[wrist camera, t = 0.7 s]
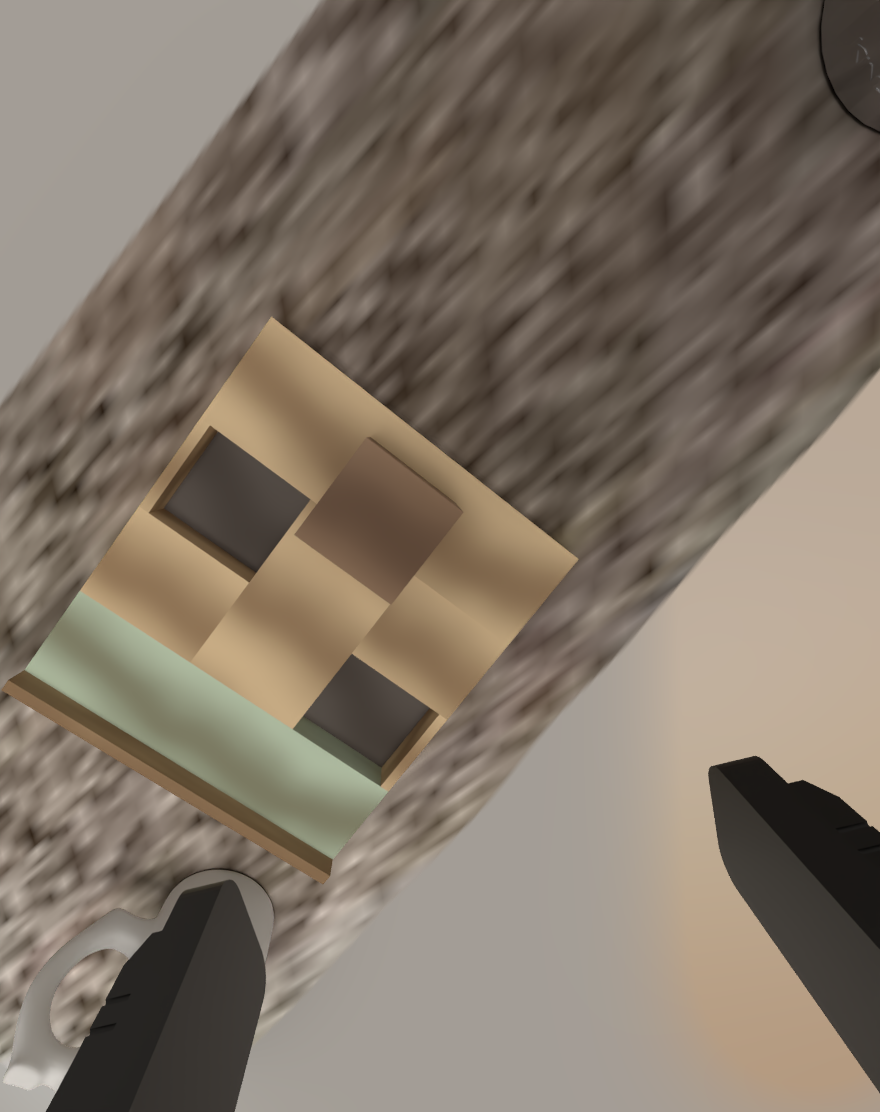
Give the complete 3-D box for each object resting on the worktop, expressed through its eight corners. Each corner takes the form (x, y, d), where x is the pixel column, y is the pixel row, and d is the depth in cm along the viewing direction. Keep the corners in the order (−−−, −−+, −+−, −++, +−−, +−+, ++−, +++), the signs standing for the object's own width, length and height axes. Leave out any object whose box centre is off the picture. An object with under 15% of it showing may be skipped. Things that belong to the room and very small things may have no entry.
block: (370, 437, 27) (366, 437, 24) (455, 503, 28) (463, 512, 25) (307, 522, 28) (293, 534, 24) (392, 584, 29) (391, 605, 25)
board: (280, 325, 28) (265, 311, 25) (567, 551, 31) (586, 564, 28) (42, 664, 30) (1, 690, 27) (330, 842, 34) (322, 884, 30)
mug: (302, 900, 34) (251, 1142, 22) (239, 983, 35) (158, 1259, 23) (146, 814, 32) (2, 1028, 21) (84, 904, 33) (-89, 1158, 22)
